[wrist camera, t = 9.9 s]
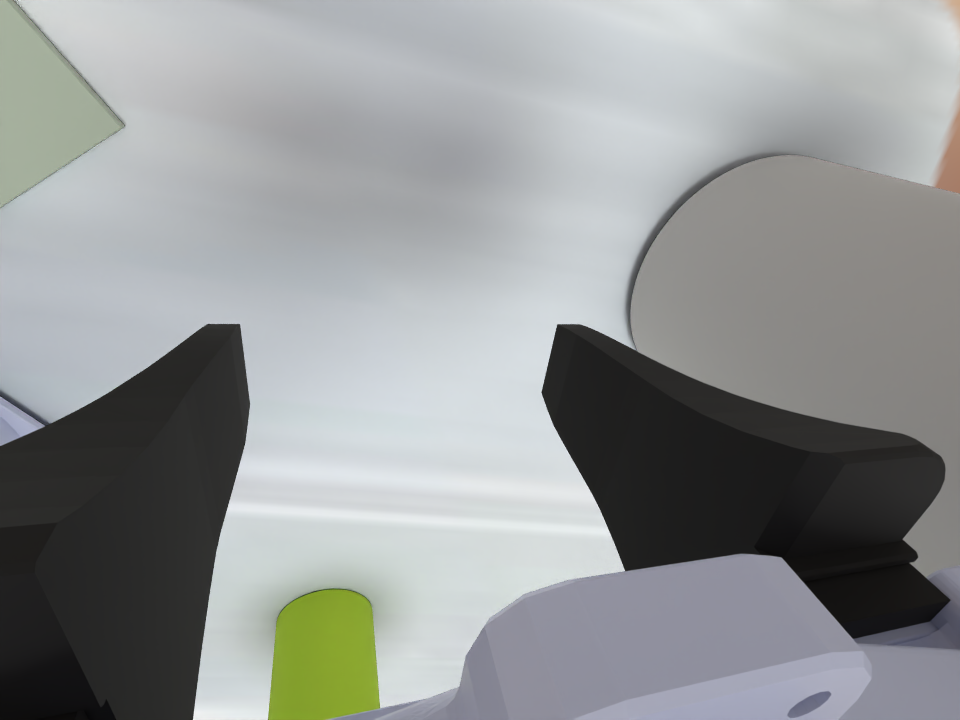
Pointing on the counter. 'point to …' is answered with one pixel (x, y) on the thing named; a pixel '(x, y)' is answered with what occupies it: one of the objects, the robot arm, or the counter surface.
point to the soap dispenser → (324, 658)
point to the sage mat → (41, 107)
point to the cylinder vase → (819, 307)
